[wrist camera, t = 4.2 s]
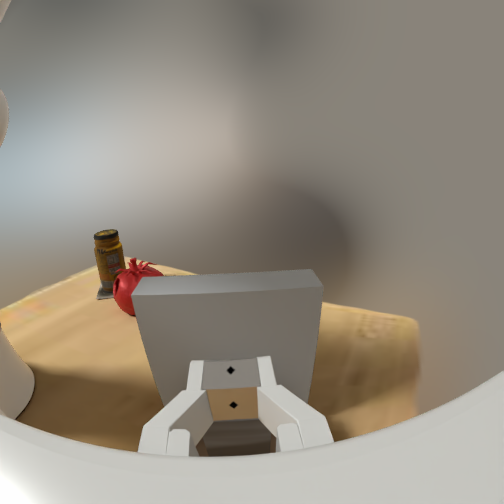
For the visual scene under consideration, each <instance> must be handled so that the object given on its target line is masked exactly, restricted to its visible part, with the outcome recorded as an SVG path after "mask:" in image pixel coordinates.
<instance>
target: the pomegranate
mask: <svg viewBox="0 0 504 504" xmlns="http://www.w3.org/2000/svg"><path fill="white" fill-rule="evenodd" d="M136 260H137V259H136V258H132V259H130V262H131V263H132V264H131V263H129V267H130V268H129V269H118V270H117V271H116V273H117V272H118V271H124V272H122V273H121V274H119V275H118V276H117V278H116V280H115V282H114V285H113V294H114V295H113V296H114V299H115V301H116V302H117V304H118V305H119V307H120V308H121V309H122V310H123V311H124V312H126V313H128V314H131V315H135V311H134V306H133V302H132V298H131V294H132V293H133V291H134V289H135V288H136V286H137V285H138V283H139V282H140V280H141V279H142V277H158V276H164V275H163V274H162V273H161V272H159V271H158V270H156V269H154V268H152V267H149V266H148V264H153V263H150V262H148V263H146V264H144V265H141V264H142V263H143V262H145V261H141V262H140V263H139V265H137V264H136ZM153 265H158V264H153Z"/></svg>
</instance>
